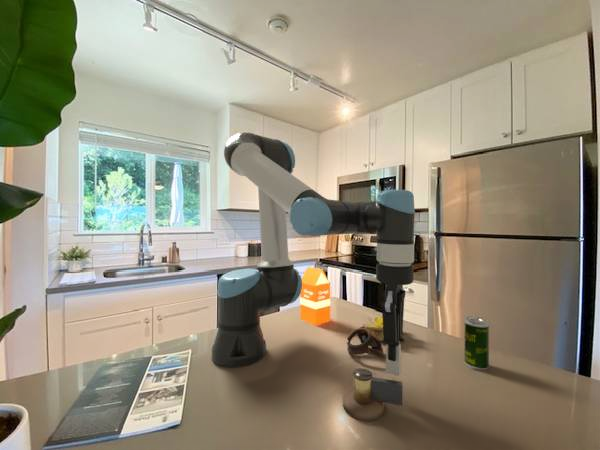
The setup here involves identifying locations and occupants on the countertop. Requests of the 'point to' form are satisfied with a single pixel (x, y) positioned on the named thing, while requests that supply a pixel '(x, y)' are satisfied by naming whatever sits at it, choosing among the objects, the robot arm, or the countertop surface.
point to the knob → (375, 388)
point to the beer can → (477, 343)
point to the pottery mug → (364, 342)
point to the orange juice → (315, 297)
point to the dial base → (361, 408)
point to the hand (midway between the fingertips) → (393, 372)
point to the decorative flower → (375, 326)
